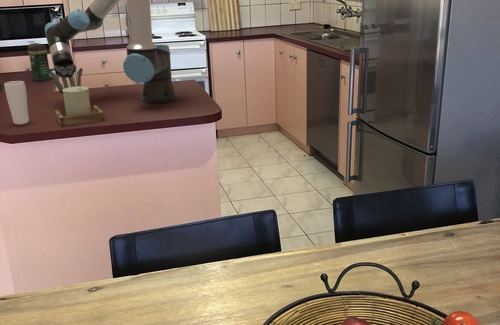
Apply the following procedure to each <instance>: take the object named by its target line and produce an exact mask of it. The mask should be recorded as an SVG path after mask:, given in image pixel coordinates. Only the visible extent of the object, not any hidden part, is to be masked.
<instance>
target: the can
mask: <svg viewBox="0 0 500 325" xmlns="http://www.w3.org/2000/svg"><path fill="white" fill-rule="evenodd" d="M68 87H69V88H64V89H63V90H62V91H63V94H62V95H63V96H62V97H63V101H64V109H65V115H66V116H65V117H70V116H77V115H84V114H92V110H91V102H90V101H91V100H90V92H89V87H88V86H77V85H76V87H71V86H68Z"/></svg>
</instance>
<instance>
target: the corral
mask: <svg viewBox="0 0 500 325" xmlns="http://www.w3.org/2000/svg"><path fill="white" fill-rule="evenodd" d="M92 110H93V112H91V114H84V115H77V116H70V117H67V116H63V115H62V114H61V112H60V110H59V109H56V110H54V117H55V119H56V121H57V122H58V124H59V125H60V127H61V128H62V127H69V126H70V127H71V126H75V125H83V124H84V125H85V124H90V123H97V122H103V121H106V120H105V119H106V118H105V113H104V111H103V110H102V109H100V107H98V105H96V104H95V105H92Z"/></svg>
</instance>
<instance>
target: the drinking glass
mask: <svg viewBox="0 0 500 325" xmlns="http://www.w3.org/2000/svg"><path fill="white" fill-rule="evenodd" d="M3 86H4V91H5V94H6V95H5V97H6V99H7V102H8V107H9V110H10V113H11V114H10V115H11V117H12V122H13V124H14V125H19V126H20V125H21V126H22V125H25V124H28V123H29V122H30V118H29V110H28V97H27V88H26V83H25V81H24V80H15V81H14V80H13V81H11V80H10V81H7V82H5V83H4V84H3Z"/></svg>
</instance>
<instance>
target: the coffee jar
mask: <svg viewBox="0 0 500 325" xmlns="http://www.w3.org/2000/svg"><path fill="white" fill-rule="evenodd" d="M27 52H28V56H29V62H30V69H31V76H32V80H34V81H37V82H46V81H49V80H51V79H52V78H50V77H49V71H51V70H50V65H49V64H50V63H49V58H48V49H47V46H46V45H45V44H43V43H38V42H33V43H29V44H28V45H27Z"/></svg>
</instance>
